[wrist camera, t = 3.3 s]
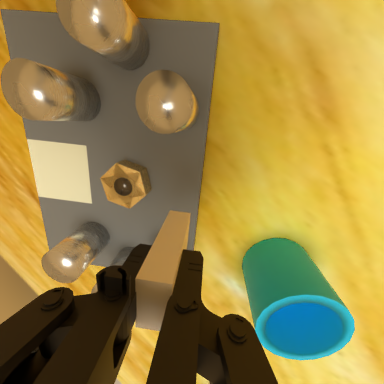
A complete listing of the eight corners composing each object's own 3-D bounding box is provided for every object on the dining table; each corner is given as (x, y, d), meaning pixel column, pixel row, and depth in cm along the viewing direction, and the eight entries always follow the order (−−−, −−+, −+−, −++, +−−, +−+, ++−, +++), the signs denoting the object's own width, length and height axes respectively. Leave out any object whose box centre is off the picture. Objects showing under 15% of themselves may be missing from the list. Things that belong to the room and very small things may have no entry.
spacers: (51, 12, 17) (-28, -43, 11) (207, 22, 16) (204, -33, 10) (84, 263, 27) (50, 300, 21) (182, 278, 26) (174, 321, 20)
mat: (7, 12, 18) (0, 9, 17) (219, 26, 16) (219, 22, 16) (54, 255, 27) (51, 258, 27) (190, 276, 26) (189, 279, 26)
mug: (240, 239, 24) (253, 295, 16) (310, 235, 22) (361, 293, 15) (245, 310, 27) (257, 382, 20) (305, 309, 26) (343, 386, 19)
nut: (106, 162, 21) (95, 166, 19) (143, 156, 20) (136, 159, 19) (119, 203, 23) (111, 211, 21) (154, 199, 22) (148, 206, 20)
